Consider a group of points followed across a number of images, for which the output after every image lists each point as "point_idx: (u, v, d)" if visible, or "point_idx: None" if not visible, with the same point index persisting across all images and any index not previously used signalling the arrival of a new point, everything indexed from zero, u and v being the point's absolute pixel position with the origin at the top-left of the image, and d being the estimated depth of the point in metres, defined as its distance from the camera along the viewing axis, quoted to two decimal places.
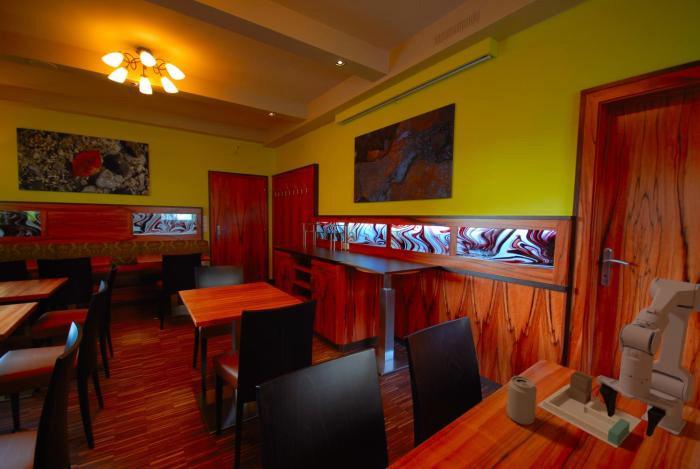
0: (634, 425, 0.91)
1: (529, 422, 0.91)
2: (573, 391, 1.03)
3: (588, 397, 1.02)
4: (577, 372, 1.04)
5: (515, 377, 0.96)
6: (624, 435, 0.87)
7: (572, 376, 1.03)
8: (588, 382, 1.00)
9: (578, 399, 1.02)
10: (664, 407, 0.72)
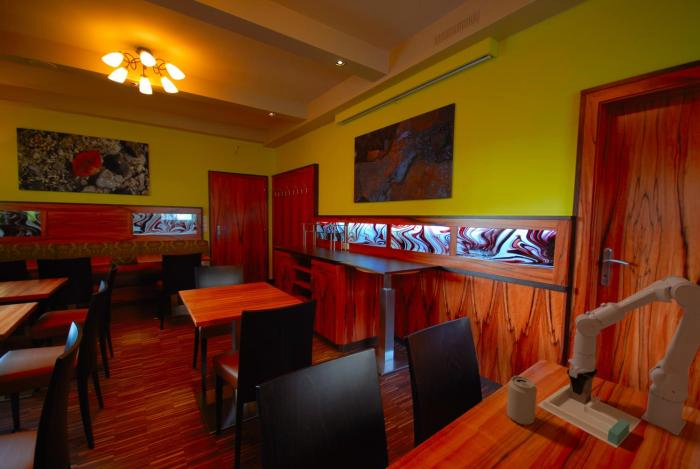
0: (634, 425, 0.91)
1: (529, 422, 0.91)
2: None
3: (588, 397, 1.02)
4: None
5: (515, 377, 0.96)
6: (624, 435, 0.87)
7: None
8: (588, 382, 1.00)
9: (578, 399, 1.02)
10: (570, 369, 1.00)
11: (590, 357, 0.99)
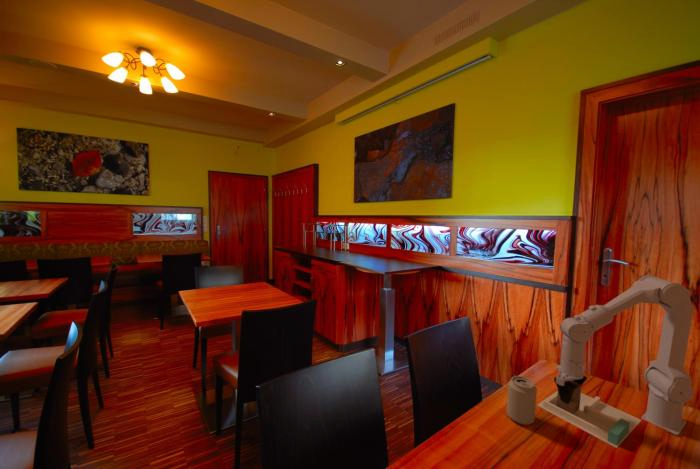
0: (634, 425, 0.91)
1: (529, 422, 0.91)
2: None
3: (576, 406, 0.96)
4: None
5: (515, 377, 0.96)
6: (624, 435, 0.87)
7: None
8: (576, 390, 0.94)
9: (566, 408, 0.96)
10: None
11: (578, 364, 0.93)
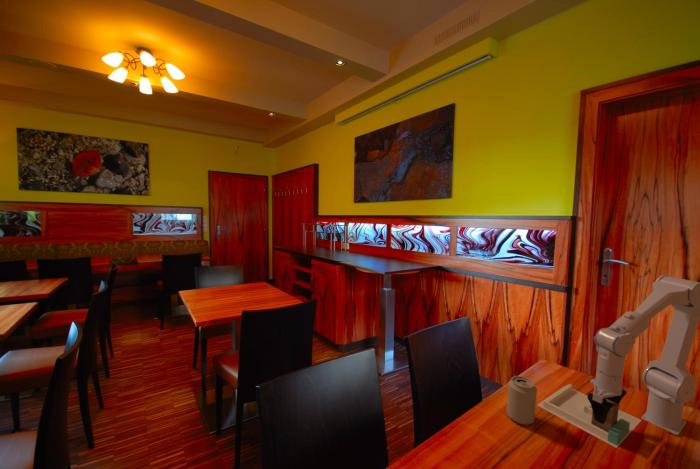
0: (634, 425, 0.91)
1: (529, 422, 0.91)
2: None
3: None
4: None
5: (515, 377, 0.96)
6: (624, 435, 0.87)
7: None
8: (614, 411, 0.87)
9: None
10: (594, 392, 0.86)
11: (617, 379, 0.85)
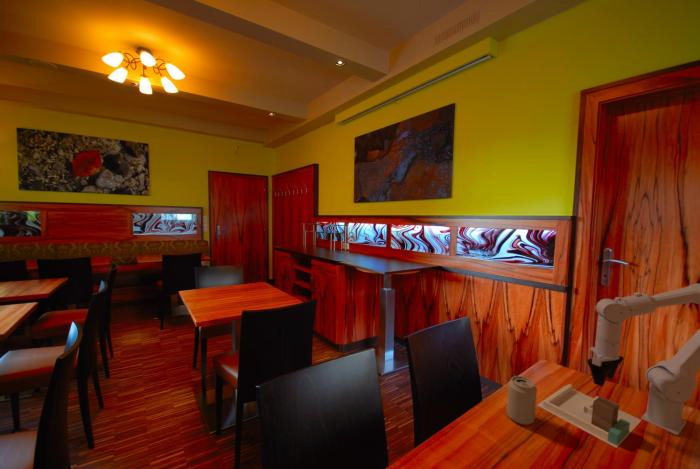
0: (634, 425, 0.91)
1: (529, 422, 0.91)
2: (596, 420, 0.89)
3: None
4: (600, 398, 0.91)
5: (515, 377, 0.96)
6: (624, 435, 0.87)
7: (595, 403, 0.89)
8: (614, 411, 0.87)
9: None
10: None
11: (615, 344, 0.92)
